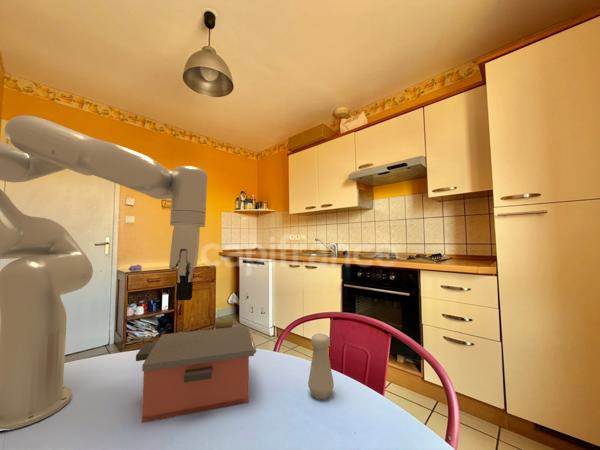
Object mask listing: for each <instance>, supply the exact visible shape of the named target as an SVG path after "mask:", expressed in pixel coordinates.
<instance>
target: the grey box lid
mask: <svg viewBox="0 0 600 450" xmlns="http://www.w3.org/2000/svg"><path fill="white" fill-rule="evenodd" d="M181 332H182V333H180V332H173V333H165V334H164V333H163V334H161V335H160V336H159V339H158V340H157V341H156V342H148V343H144V344H143V345H142V346H141V348H140V349H139V351H138V352H137V353H136V355H135V362H140V361H144V362H143V363H142V364H141V365H142V367H141V368H142V369H141V372H144V371H149V370H157V369H164V368H171V367H178V366H185V365H192V364H199V363H207V362H214V361H221V360H228V359H235V358H242V357H249V358H250V357H254V356H255V354H256V353H257V348H256V344H255V342H254V340H253V339H254V338H253V335H252V331H251V329H250V327H249V326H248V325H242V326H241V325H240V326H232V327H230V328H221V329H215V328H214V329H213V328H211V329H203V330H195V331H193V330H191V331H185V332H184V331H181Z"/></svg>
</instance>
